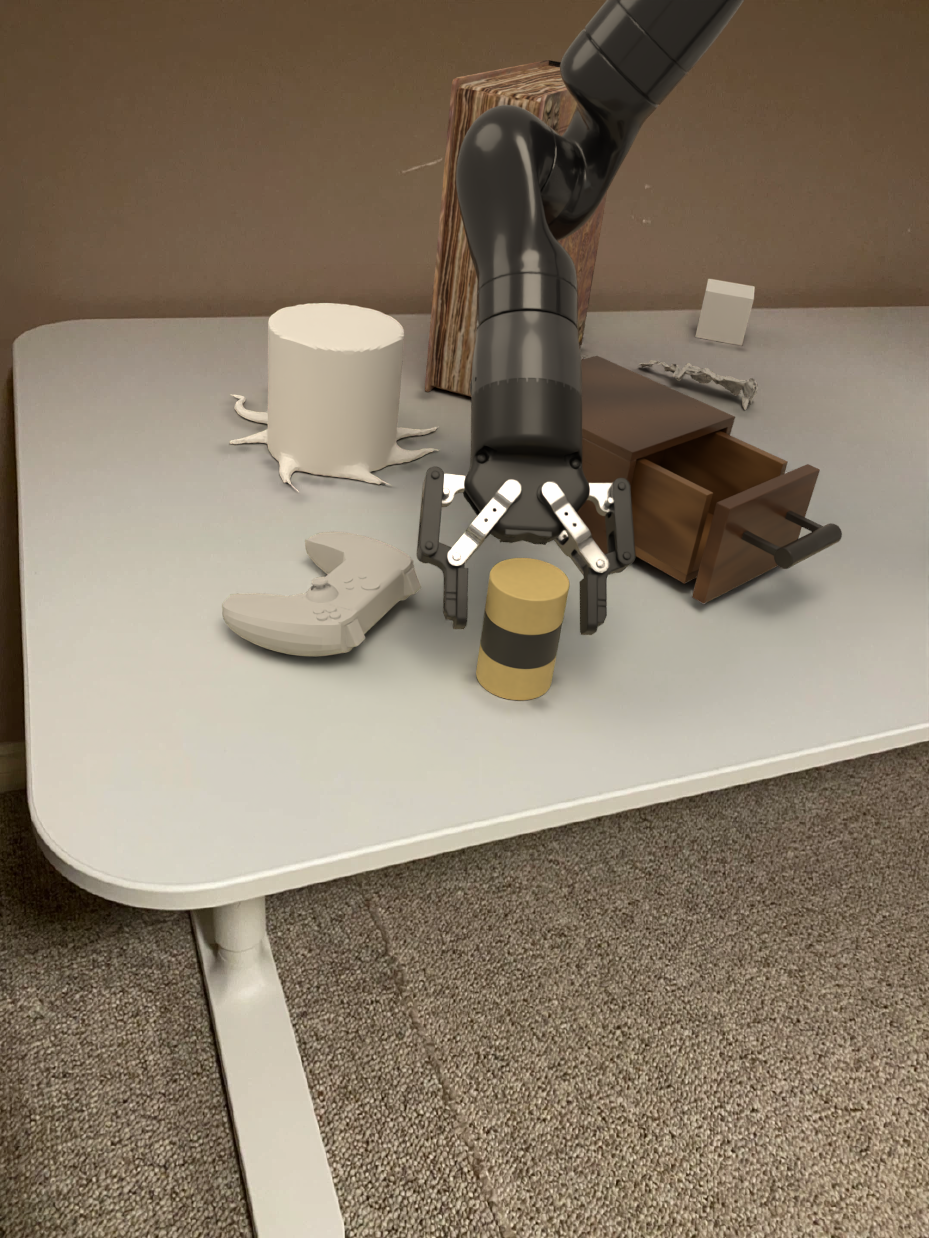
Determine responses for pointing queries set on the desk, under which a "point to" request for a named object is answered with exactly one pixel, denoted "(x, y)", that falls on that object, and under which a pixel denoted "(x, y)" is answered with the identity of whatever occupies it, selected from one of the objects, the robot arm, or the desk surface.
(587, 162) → the robot arm
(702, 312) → the beige rectangular block
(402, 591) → the game controller
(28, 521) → the desk surface
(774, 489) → the drawer
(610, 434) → the cabinet
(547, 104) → the book
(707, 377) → the grey figurine
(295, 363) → the tree stump
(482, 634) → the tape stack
